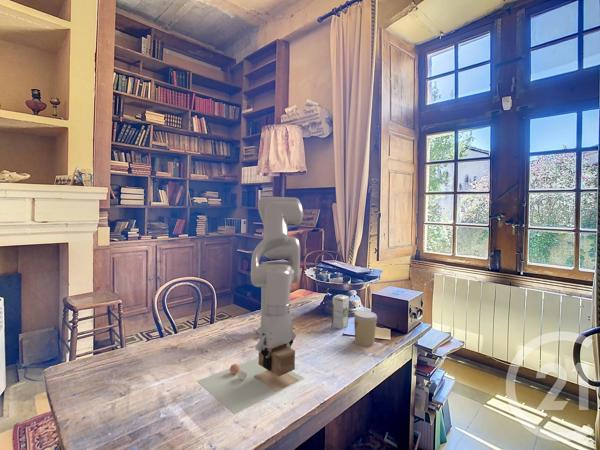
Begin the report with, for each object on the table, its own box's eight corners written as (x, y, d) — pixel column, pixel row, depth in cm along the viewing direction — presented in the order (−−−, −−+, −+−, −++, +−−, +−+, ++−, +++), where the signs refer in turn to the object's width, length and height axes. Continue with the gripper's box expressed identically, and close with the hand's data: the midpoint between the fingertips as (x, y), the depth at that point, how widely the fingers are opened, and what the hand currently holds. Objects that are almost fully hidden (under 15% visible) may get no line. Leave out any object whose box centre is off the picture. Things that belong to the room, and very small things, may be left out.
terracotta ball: (236, 370, 104) (236, 361, 104) (241, 373, 102) (241, 364, 102) (228, 373, 102) (228, 364, 102) (233, 377, 100) (233, 367, 100)
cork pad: (275, 367, 106) (275, 366, 106) (298, 380, 99) (298, 379, 99) (253, 376, 100) (253, 375, 100) (276, 391, 92) (276, 390, 92)
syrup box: (337, 323, 153) (338, 293, 152) (348, 326, 149) (349, 296, 148) (331, 326, 148) (332, 296, 147) (342, 329, 144) (343, 298, 144)
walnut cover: (258, 364, 100) (258, 345, 100) (274, 358, 105) (274, 340, 105) (278, 376, 93) (279, 356, 93) (294, 369, 98) (295, 350, 97)
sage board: (264, 358, 115) (264, 355, 115) (304, 382, 100) (305, 378, 100) (196, 384, 97) (196, 380, 97) (234, 418, 82) (234, 414, 82)
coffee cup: (356, 336, 138) (357, 309, 137) (378, 340, 134) (379, 312, 133) (350, 344, 129) (351, 315, 129) (373, 349, 125) (374, 319, 125)
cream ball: (243, 375, 101) (243, 366, 101) (249, 379, 99) (249, 369, 99) (235, 378, 99) (235, 369, 99) (240, 382, 97) (241, 373, 96)
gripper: (289, 301, 107) (288, 353, 108) (247, 311, 95) (246, 369, 96) (305, 306, 102) (304, 360, 102) (262, 317, 90) (261, 379, 90)
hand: (276, 364), depth 99 cm, fingers closed on walnut cover, 6 cm apart
